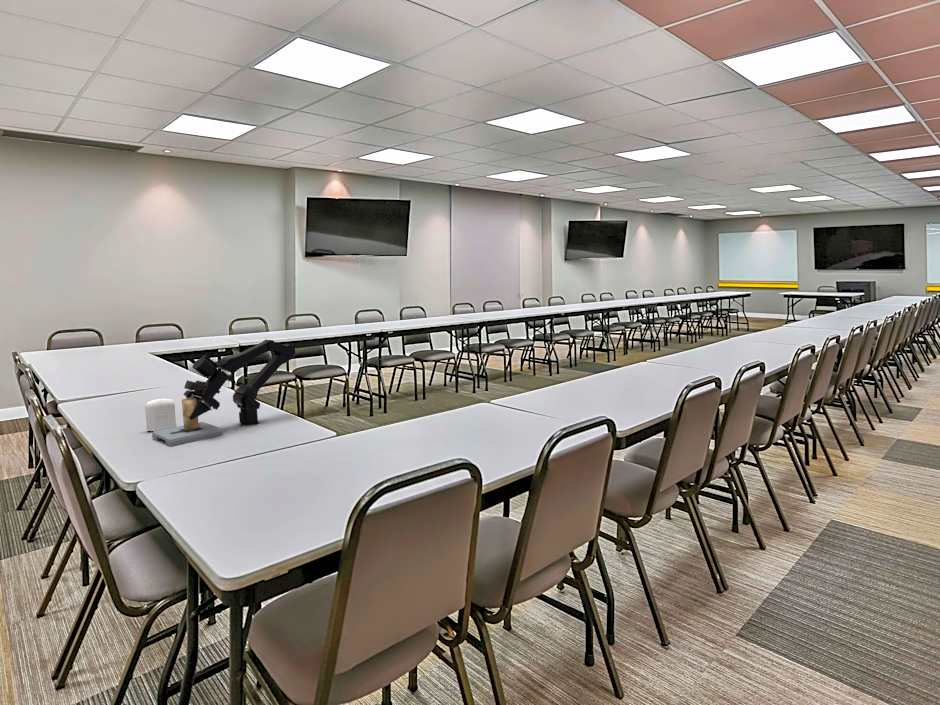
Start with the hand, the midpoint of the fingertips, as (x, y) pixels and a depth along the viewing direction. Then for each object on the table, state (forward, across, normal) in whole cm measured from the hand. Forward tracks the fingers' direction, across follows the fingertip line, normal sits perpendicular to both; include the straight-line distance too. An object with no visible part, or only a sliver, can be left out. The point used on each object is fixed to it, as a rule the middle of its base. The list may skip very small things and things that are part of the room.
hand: (186, 418), depth 216 cm
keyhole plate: (+5, 0, +5) cm, 7 cm away
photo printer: (+7, -18, +4) cm, 20 cm away
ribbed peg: (+4, 0, +6) cm, 7 cm away
